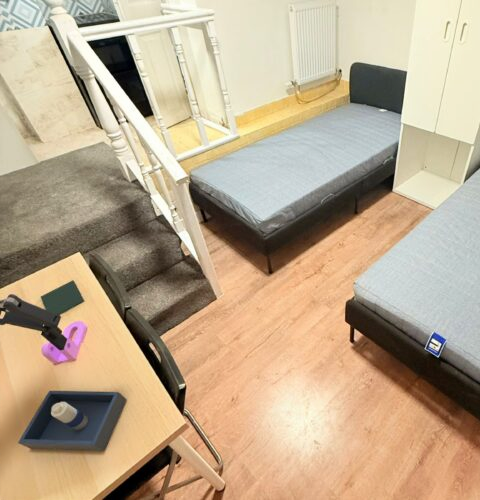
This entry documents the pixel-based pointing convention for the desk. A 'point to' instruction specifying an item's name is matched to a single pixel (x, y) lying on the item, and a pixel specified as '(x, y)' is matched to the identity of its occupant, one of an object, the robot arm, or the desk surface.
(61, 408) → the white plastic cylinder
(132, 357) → the desk surface
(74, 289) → the desk mat
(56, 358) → the bracket
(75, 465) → the desk surface
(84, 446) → the dark blue tray
